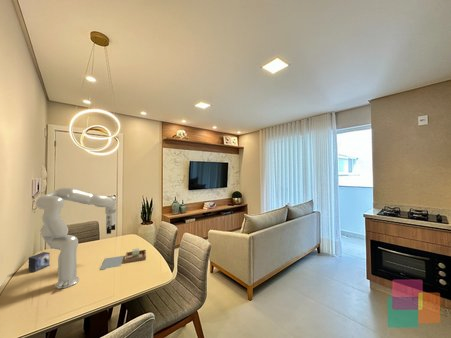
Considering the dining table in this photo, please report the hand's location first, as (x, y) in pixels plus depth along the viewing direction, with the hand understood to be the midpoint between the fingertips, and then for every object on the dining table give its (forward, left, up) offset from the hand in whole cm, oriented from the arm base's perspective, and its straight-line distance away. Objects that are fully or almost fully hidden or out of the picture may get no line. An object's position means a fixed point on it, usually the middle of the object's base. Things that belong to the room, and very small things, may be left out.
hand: (111, 231), depth 163 cm
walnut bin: (-3, -19, -24) cm, 31 cm away
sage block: (-3, -19, -23) cm, 30 cm away
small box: (+6, +49, -24) cm, 55 cm away
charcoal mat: (-5, -2, -24) cm, 24 cm away
